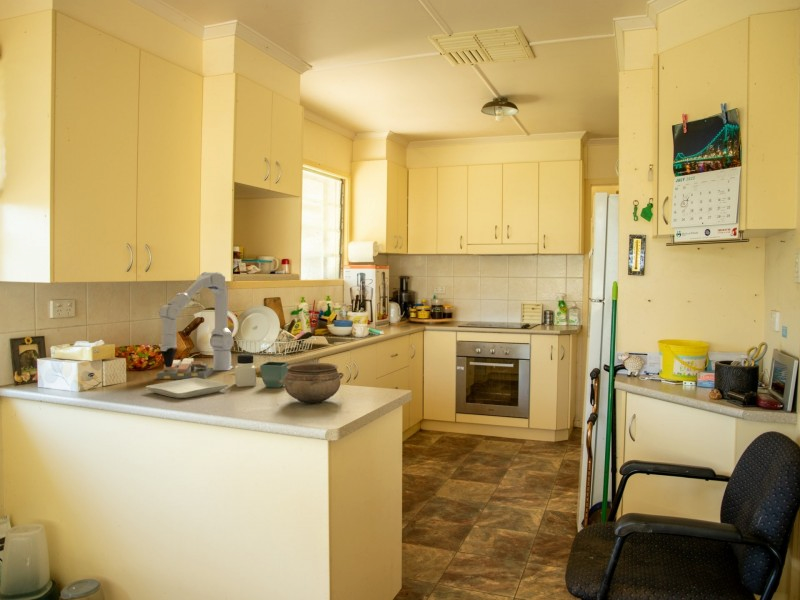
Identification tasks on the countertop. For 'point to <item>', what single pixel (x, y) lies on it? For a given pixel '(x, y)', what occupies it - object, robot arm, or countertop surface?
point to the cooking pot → (312, 382)
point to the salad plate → (187, 387)
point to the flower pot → (274, 373)
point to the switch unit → (185, 373)
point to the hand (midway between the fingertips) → (168, 366)
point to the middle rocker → (185, 365)
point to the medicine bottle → (245, 371)
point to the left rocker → (173, 365)
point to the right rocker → (198, 364)
